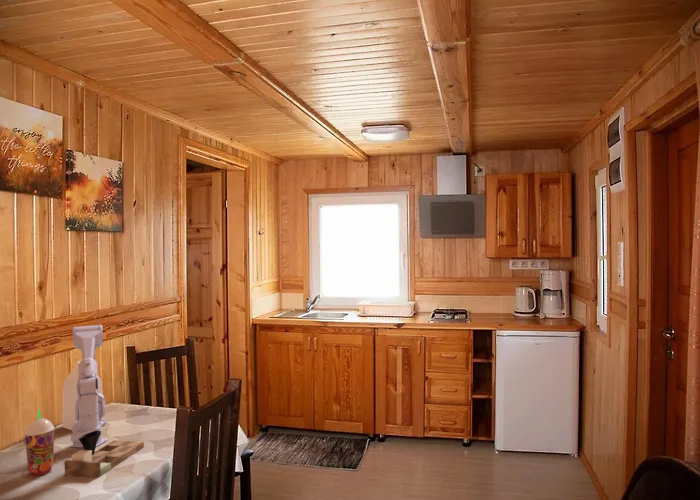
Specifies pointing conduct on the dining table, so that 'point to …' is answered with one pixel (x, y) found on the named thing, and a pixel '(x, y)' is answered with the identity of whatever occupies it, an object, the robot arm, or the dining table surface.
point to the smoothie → (39, 446)
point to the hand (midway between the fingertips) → (90, 454)
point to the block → (82, 455)
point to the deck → (103, 459)
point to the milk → (72, 398)
